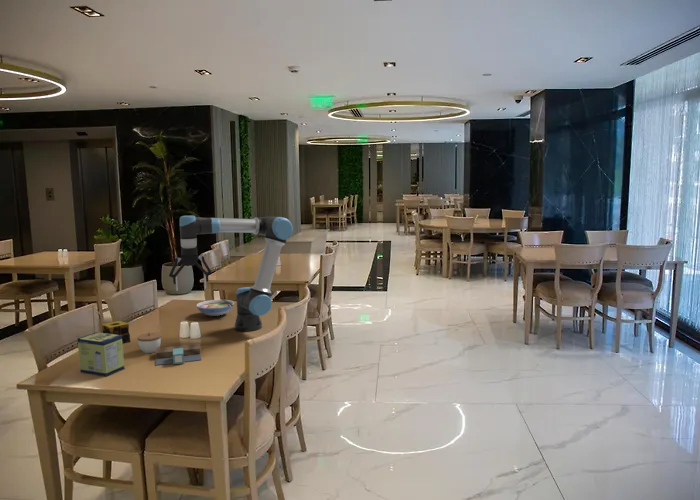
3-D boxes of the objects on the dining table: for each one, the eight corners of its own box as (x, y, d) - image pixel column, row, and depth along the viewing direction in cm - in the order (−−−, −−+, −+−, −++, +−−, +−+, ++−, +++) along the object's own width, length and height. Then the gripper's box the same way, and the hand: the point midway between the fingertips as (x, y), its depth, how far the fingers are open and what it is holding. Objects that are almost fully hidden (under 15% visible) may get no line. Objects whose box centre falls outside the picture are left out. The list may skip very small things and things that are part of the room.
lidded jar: (166, 348, 261) (165, 330, 260) (151, 355, 251) (150, 336, 250) (148, 347, 264) (147, 328, 263) (133, 353, 254) (132, 334, 253)
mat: (200, 354, 251) (200, 354, 251) (201, 360, 243) (201, 359, 243) (156, 360, 245) (155, 359, 244) (155, 365, 237) (155, 364, 237)
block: (183, 347, 247) (183, 353, 238) (183, 356, 247) (184, 363, 239) (172, 348, 245) (172, 354, 237) (173, 358, 246) (173, 364, 237)
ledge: (199, 349, 259) (199, 343, 259) (200, 354, 252) (200, 348, 251) (156, 354, 253) (156, 348, 253) (156, 359, 245) (155, 353, 245)
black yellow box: (130, 342, 273) (129, 323, 272) (111, 346, 266) (109, 327, 265) (122, 338, 280) (120, 320, 279) (102, 343, 273) (101, 324, 272)
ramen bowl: (193, 313, 332) (193, 300, 331) (230, 308, 341) (229, 296, 340) (200, 322, 309) (199, 308, 308) (239, 317, 319) (238, 304, 318)
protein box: (98, 364, 240) (96, 331, 238) (125, 368, 234) (122, 334, 232) (79, 372, 230) (76, 338, 228) (106, 377, 224) (103, 341, 222)
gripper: (214, 244, 267) (216, 285, 270) (162, 247, 259) (165, 289, 262) (215, 246, 260) (217, 288, 263) (162, 249, 252) (164, 292, 255)
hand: (191, 289), depth 262 cm, fingers open, 13 cm apart
